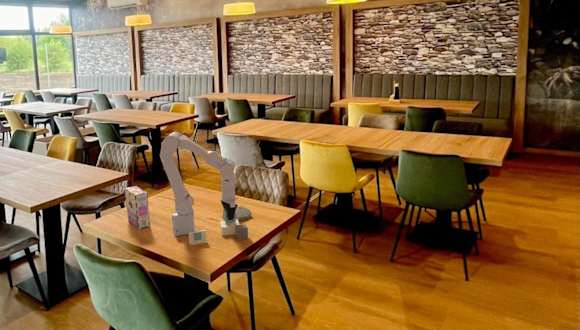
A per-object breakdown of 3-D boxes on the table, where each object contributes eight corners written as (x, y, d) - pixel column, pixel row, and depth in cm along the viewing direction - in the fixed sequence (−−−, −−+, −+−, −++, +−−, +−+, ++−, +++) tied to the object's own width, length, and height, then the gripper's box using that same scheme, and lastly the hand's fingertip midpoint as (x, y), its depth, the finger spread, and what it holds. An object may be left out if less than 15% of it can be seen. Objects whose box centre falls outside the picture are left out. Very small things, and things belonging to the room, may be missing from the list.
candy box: (150, 226, 213) (147, 192, 208) (138, 230, 209) (134, 195, 205) (139, 218, 223) (136, 185, 219) (127, 220, 220) (124, 187, 216)
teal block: (226, 223, 203) (225, 212, 202) (223, 219, 207) (223, 209, 206) (235, 221, 205) (235, 211, 204) (233, 218, 209) (232, 207, 208)
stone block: (253, 219, 226) (238, 211, 231) (254, 211, 224) (239, 203, 229) (235, 228, 217) (220, 219, 222) (236, 219, 215) (221, 210, 220)
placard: (190, 245, 193) (189, 234, 192) (188, 242, 196) (188, 231, 195) (206, 242, 196) (206, 231, 194) (205, 239, 198) (204, 228, 197)
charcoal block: (238, 240, 198) (237, 229, 197) (235, 236, 202) (235, 225, 201) (248, 238, 200) (247, 227, 198) (245, 234, 204) (244, 224, 202)
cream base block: (221, 236, 203) (221, 227, 202) (220, 229, 210) (219, 220, 209) (240, 234, 205) (239, 225, 204) (238, 227, 212) (237, 219, 211)
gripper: (241, 191, 197) (242, 222, 201) (233, 182, 210) (234, 211, 214) (225, 193, 195) (226, 224, 198) (217, 184, 208) (218, 213, 211)
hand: (229, 217), depth 206 cm, fingers closed on teal block, 4 cm apart
